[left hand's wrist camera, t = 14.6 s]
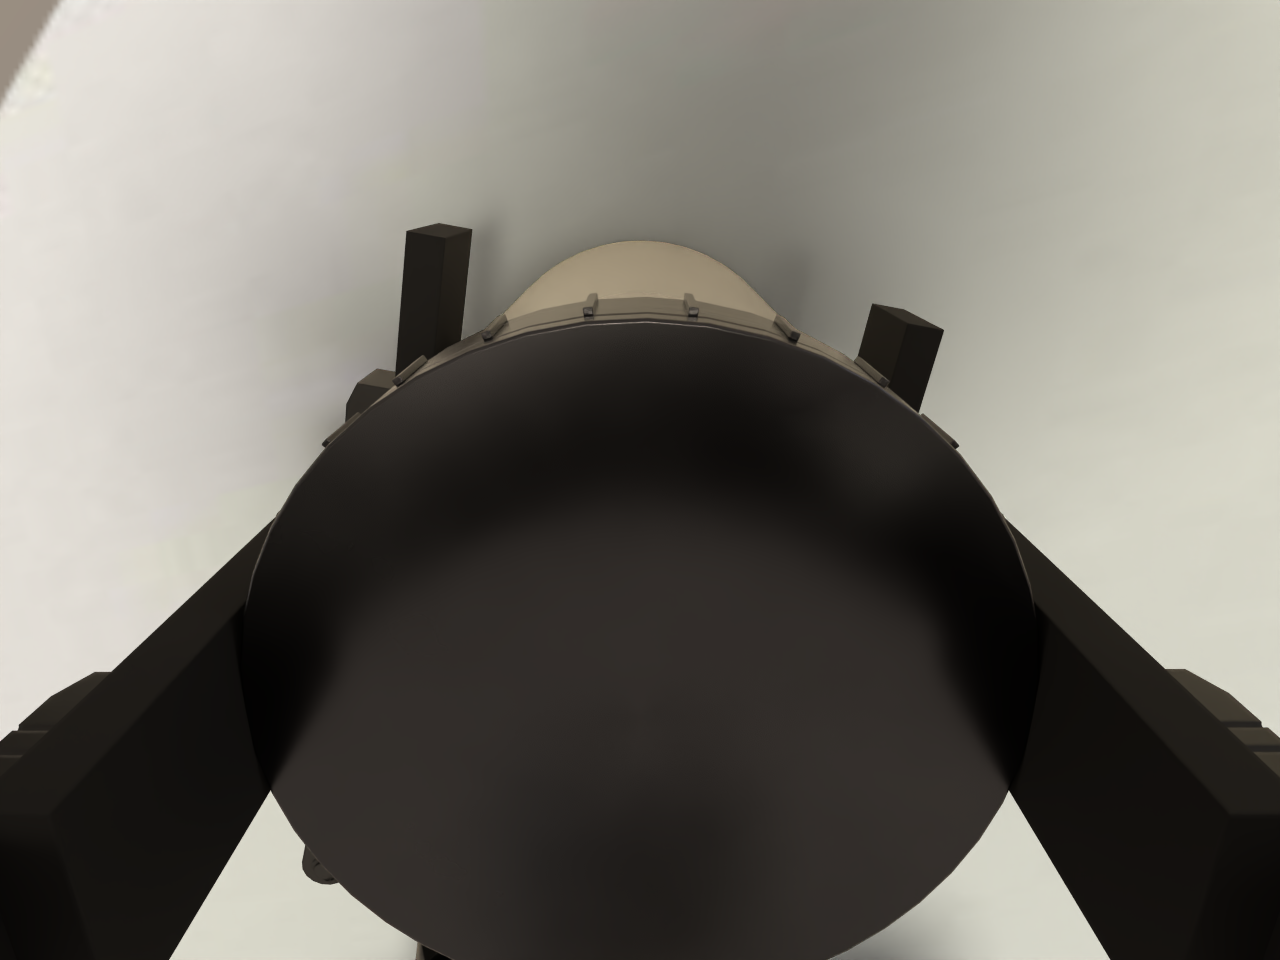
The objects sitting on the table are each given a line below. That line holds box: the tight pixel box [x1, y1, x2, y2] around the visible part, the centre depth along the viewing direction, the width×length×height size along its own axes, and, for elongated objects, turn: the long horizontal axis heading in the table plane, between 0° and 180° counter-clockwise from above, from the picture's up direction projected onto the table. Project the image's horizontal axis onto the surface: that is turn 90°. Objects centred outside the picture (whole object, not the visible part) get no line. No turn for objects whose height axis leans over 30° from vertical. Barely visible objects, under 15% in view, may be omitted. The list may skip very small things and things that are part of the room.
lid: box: [240, 293, 1040, 960], centre depth 11 cm, size 10×10×2 cm
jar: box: [502, 240, 778, 321], centre depth 18 cm, size 9×9×15 cm
